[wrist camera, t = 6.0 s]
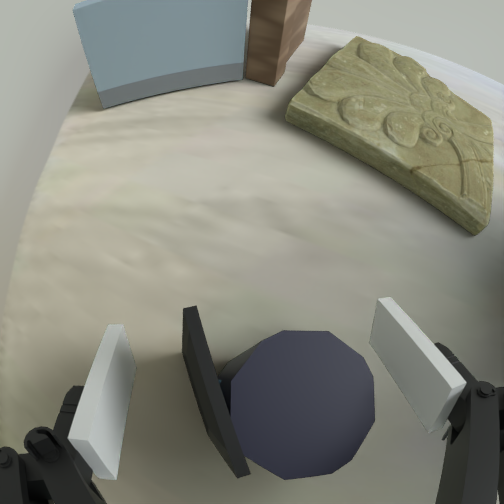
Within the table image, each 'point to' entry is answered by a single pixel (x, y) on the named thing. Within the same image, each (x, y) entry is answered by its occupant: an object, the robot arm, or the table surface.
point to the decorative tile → (402, 128)
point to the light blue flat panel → (160, 45)
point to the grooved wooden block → (274, 37)
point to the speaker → (282, 401)
